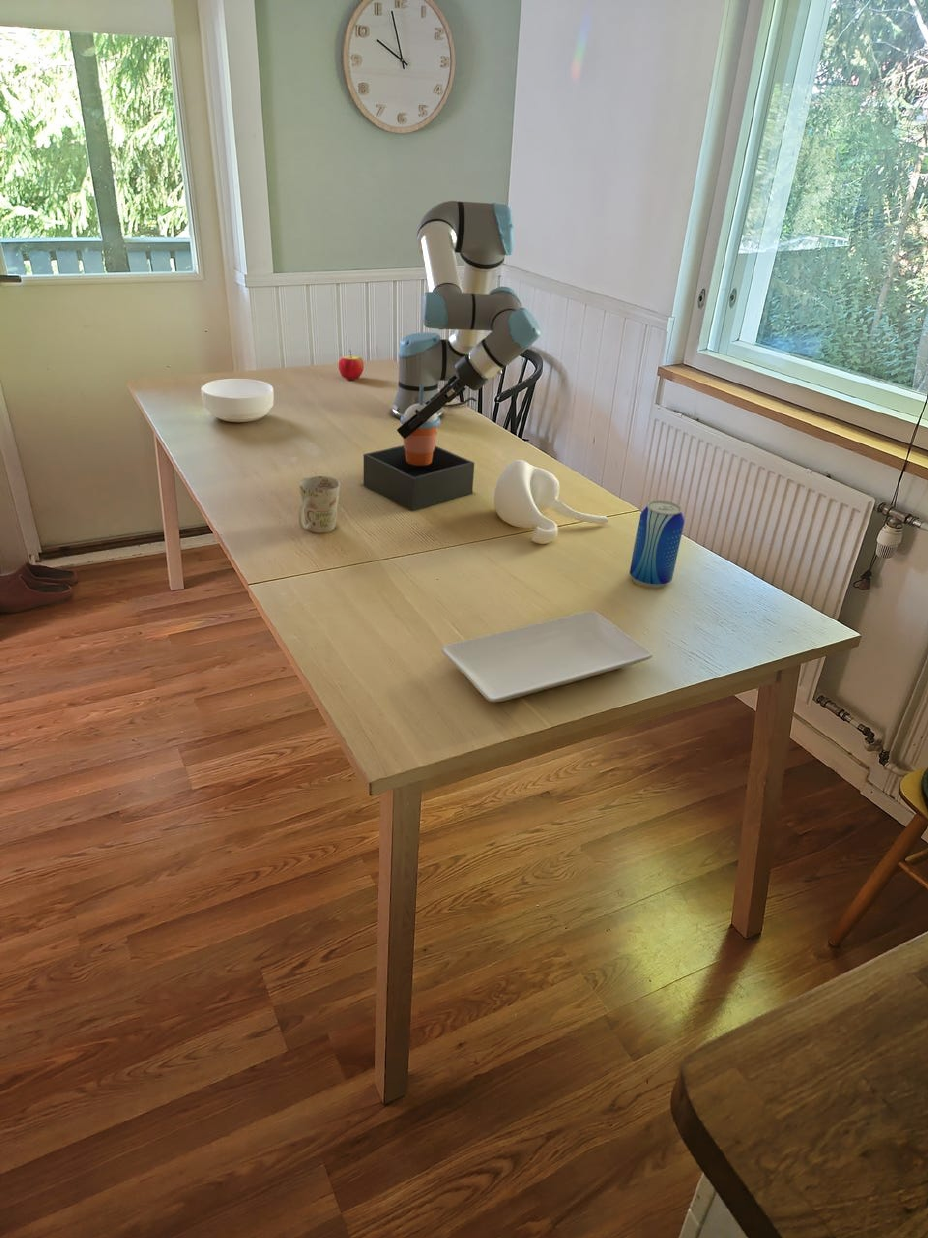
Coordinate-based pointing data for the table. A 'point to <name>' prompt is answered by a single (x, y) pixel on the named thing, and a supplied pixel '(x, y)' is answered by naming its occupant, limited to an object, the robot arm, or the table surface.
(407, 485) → the bin
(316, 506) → the mug
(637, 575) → the beer can
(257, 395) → the bowl
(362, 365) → the apple
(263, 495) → the table surface
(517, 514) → the stomach
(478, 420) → the table surface
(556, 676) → the tray
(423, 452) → the cup with straw
